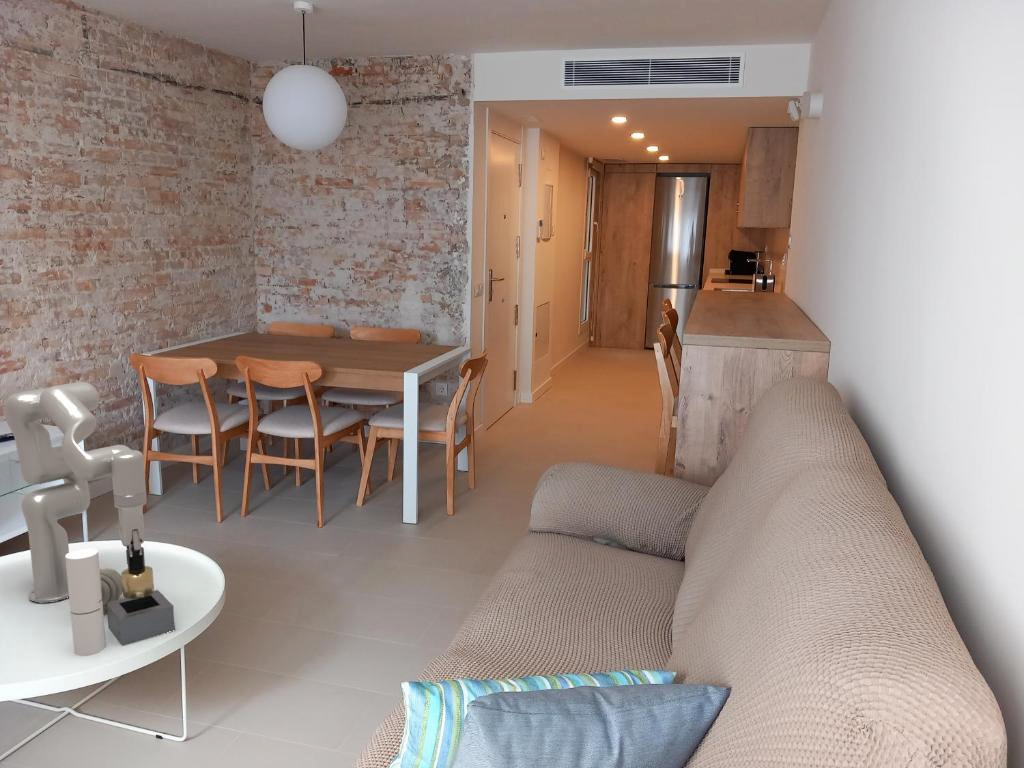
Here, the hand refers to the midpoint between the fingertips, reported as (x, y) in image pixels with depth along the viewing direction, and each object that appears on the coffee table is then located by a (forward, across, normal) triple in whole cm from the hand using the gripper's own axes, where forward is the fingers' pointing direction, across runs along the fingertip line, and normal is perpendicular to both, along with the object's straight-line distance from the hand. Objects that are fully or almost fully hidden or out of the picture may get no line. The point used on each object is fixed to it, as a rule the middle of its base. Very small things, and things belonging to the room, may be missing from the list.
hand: (135, 566), depth 213 cm
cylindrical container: (+18, +5, -12) cm, 22 cm away
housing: (+18, 0, 0) cm, 18 cm away
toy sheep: (+18, -19, -6) cm, 27 cm away
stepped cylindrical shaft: (+7, 0, 0) cm, 7 cm away
